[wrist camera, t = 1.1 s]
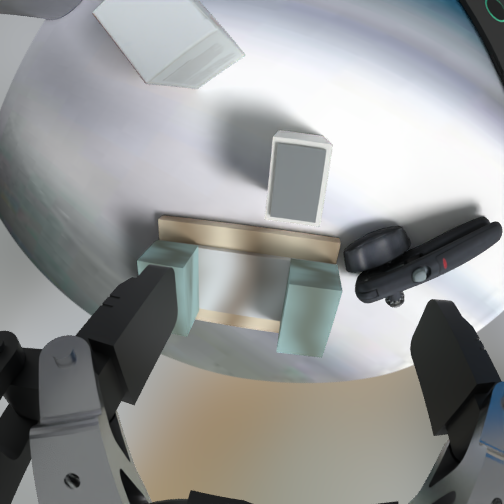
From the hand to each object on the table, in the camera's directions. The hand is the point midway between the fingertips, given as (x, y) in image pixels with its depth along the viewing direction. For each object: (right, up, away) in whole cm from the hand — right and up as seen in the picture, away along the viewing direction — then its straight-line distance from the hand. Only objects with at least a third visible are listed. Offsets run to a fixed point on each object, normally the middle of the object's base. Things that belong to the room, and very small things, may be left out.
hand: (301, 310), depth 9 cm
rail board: (-2, -1, +24) cm, 24 cm away
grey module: (+3, +10, +18) cm, 20 cm away
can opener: (+16, +3, +19) cm, 25 cm away
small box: (-6, +21, +14) cm, 26 cm away
